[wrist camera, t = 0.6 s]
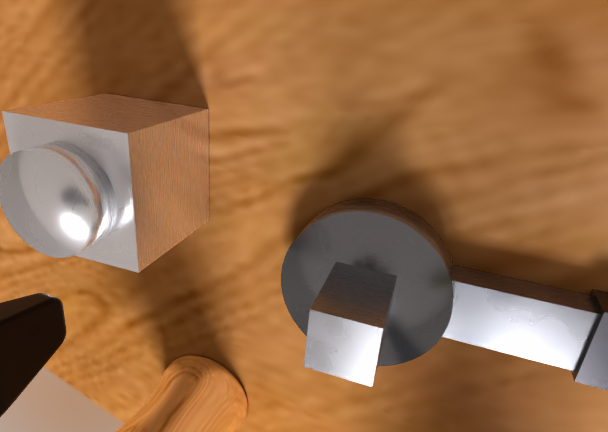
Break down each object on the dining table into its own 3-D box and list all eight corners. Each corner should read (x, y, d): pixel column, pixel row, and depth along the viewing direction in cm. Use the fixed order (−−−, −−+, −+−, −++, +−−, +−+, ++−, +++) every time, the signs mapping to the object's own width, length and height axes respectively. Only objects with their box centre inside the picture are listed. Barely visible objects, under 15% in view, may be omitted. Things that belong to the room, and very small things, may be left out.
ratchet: (289, 318, 25) (243, 395, 20) (300, 184, 22) (249, 233, 16) (670, 423, 20) (743, 560, 15) (757, 271, 17) (889, 379, 12)
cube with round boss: (208, 220, 24) (114, 290, 18) (116, 199, 26) (-3, 256, 19) (208, 109, 22) (98, 142, 15) (106, 93, 23) (-35, 117, 17)
